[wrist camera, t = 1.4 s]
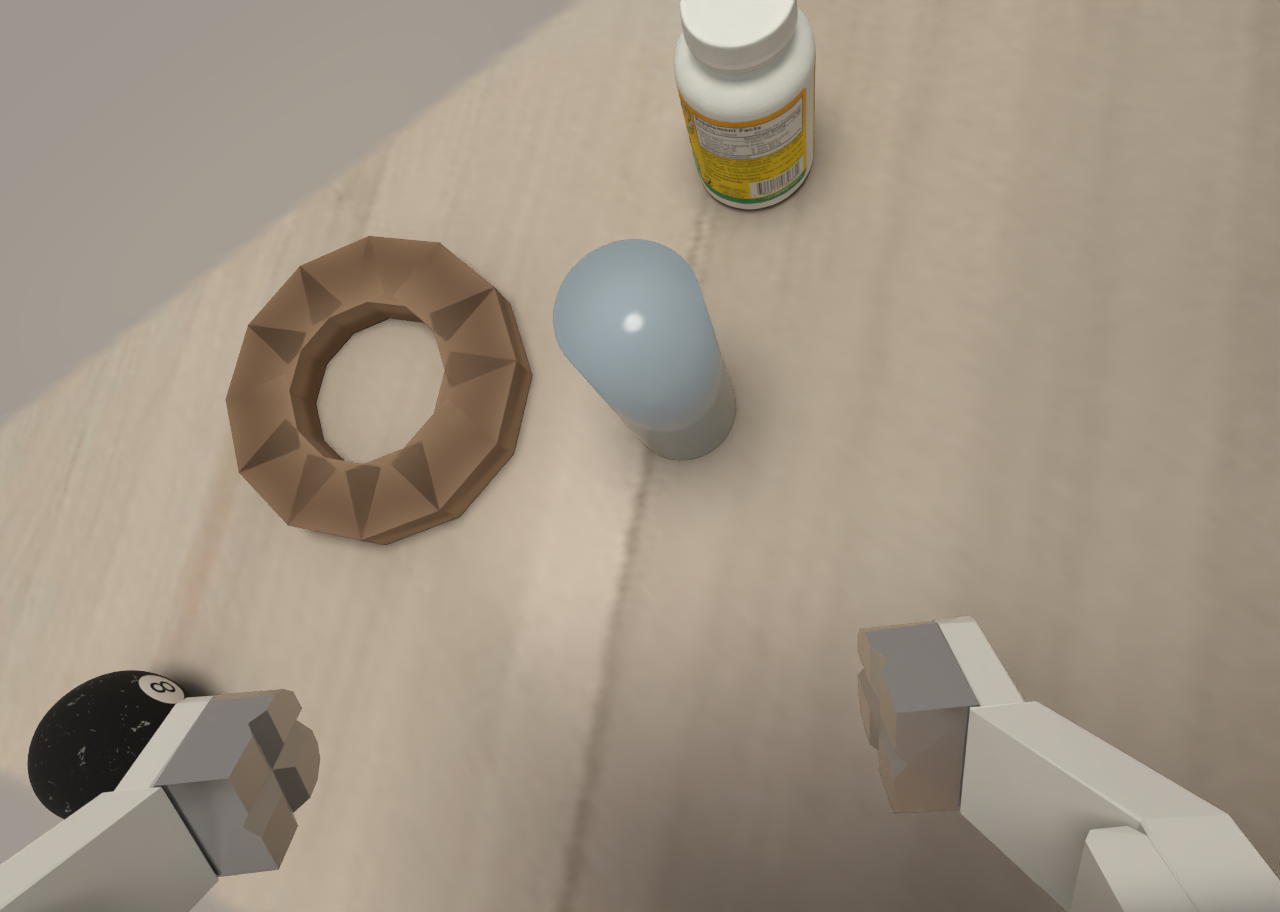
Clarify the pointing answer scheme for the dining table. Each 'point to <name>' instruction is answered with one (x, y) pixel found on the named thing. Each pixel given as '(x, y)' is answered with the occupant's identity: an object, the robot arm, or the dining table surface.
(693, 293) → the slate ceramic shaker
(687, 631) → the dining table surface
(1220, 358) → the dining table surface
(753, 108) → the supplement bottle
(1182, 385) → the dining table surface
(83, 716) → the billiard ball
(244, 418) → the walnut ring
